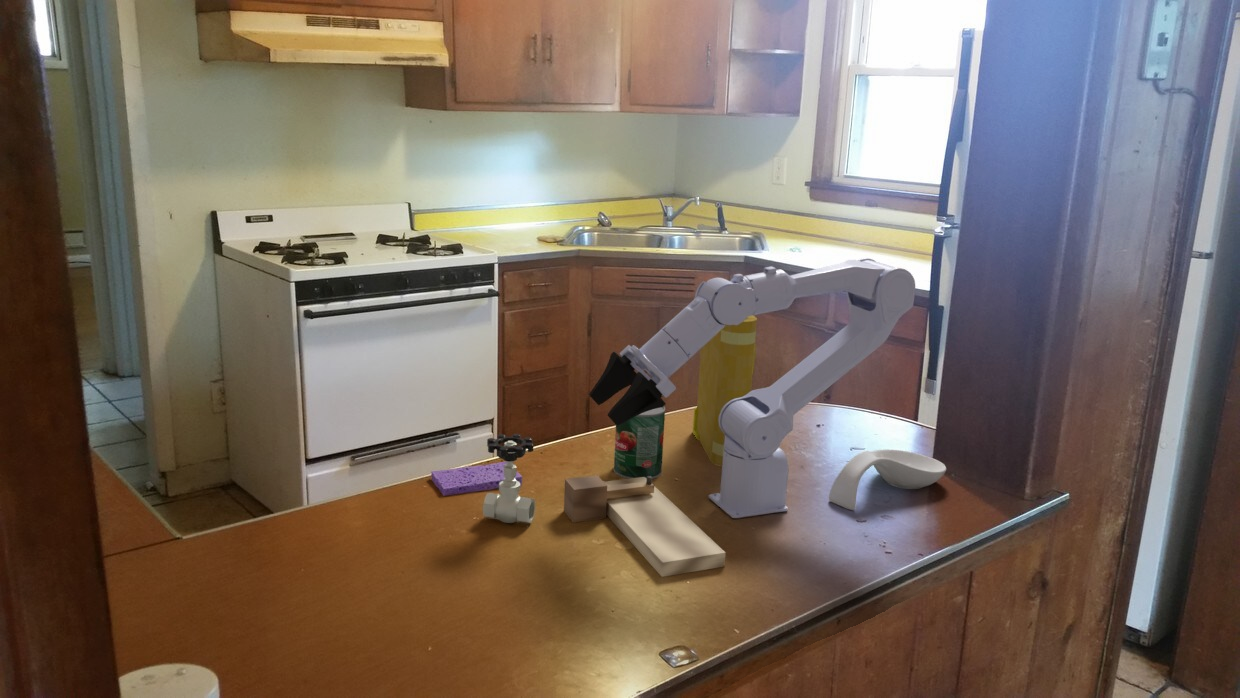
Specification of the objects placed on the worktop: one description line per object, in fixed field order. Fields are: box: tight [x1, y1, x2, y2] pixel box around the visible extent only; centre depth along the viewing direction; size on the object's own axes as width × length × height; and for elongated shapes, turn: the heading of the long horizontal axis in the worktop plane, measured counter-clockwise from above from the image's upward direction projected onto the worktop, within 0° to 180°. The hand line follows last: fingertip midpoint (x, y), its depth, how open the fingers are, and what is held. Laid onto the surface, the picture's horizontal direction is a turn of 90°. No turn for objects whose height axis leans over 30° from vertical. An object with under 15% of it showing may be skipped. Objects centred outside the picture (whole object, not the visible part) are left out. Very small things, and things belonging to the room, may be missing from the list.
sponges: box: [430, 461, 523, 497], centre depth 142 cm, size 7×13×2 cm, turn 115°
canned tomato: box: [613, 406, 666, 480], centre depth 148 cm, size 8×8×11 cm
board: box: [603, 477, 726, 578], centre depth 129 cm, size 9×26×2 cm, turn 23°
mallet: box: [563, 474, 655, 523], centre depth 134 cm, size 13×4×5 cm, turn 112°
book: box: [692, 315, 758, 468], centre depth 158 cm, size 17×7×25 cm, turn 6°
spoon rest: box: [828, 449, 947, 511], centre depth 146 cm, size 24×12×7 cm, turn 131°
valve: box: [482, 433, 536, 524], centre depth 128 cm, size 7×7×12 cm
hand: (602, 410), depth 127 cm, fingers open, 7 cm apart
